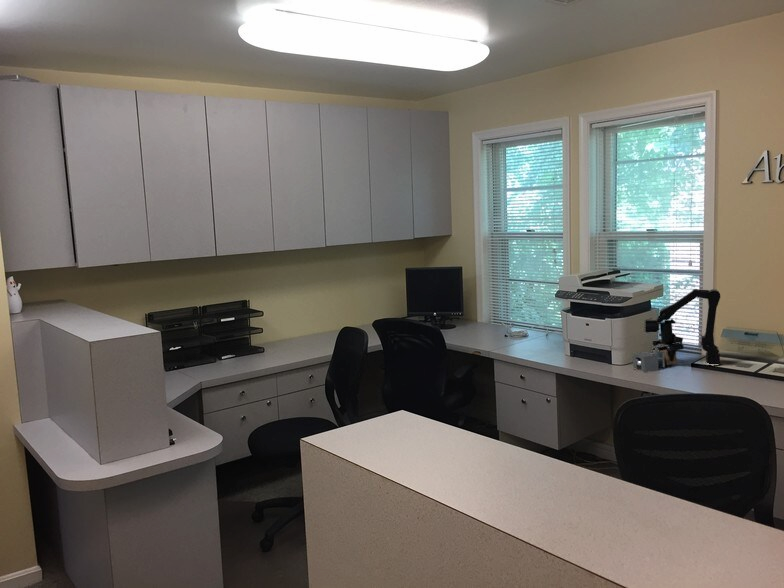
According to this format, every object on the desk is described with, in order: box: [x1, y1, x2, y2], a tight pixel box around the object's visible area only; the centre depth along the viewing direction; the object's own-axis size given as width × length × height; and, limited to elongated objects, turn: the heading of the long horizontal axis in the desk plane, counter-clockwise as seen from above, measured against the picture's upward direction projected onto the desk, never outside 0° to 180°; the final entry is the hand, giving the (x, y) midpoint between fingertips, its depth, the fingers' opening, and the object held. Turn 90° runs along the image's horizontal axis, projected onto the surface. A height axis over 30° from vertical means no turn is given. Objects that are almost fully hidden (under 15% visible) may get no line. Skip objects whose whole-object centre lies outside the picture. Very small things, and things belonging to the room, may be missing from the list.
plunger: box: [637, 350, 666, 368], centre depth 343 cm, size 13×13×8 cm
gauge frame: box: [632, 351, 659, 373], centre depth 343 cm, size 14×18×8 cm
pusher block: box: [660, 350, 678, 366], centre depth 343 cm, size 5×6×7 cm
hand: (668, 360), depth 344 cm, fingers closed on pusher block, 5 cm apart
